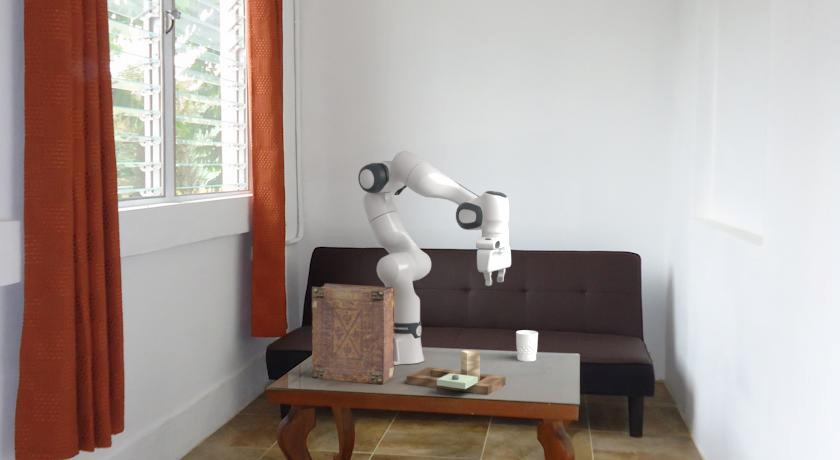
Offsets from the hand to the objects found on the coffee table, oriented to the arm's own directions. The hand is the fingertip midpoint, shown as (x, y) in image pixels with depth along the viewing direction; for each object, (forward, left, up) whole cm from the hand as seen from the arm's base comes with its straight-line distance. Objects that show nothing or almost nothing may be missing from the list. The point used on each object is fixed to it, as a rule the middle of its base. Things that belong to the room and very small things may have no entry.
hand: (494, 283), depth 278 cm
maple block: (-2, -14, -31) cm, 34 cm away
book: (-40, -23, -31) cm, 56 cm away
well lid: (-2, -24, -28) cm, 37 cm away
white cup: (0, +30, -31) cm, 43 cm away
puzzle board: (-7, -14, -31) cm, 35 cm away
